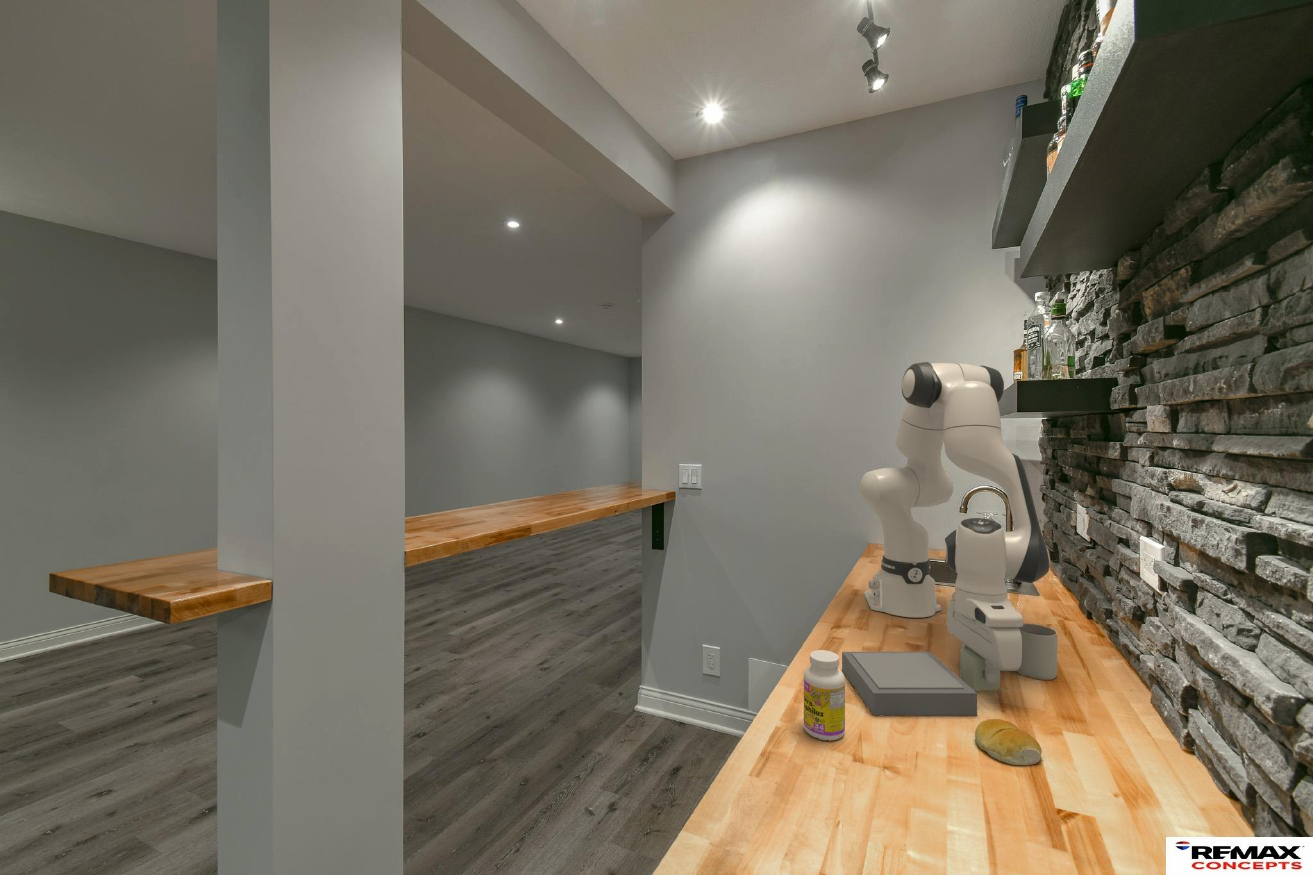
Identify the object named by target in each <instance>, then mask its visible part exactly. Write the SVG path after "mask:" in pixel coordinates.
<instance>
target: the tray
mask: <svg viewBox="0 0 1313 875" xmlns="http://www.w3.org/2000/svg"><path fill="white" fill-rule="evenodd" d="M841 672H842V673H843V672H844V673H843V674H844V676H845V678H846V679H847V678H848V679H847V680H848V681H849V683H850V682H851V683H850V684H851V686H852V685H853V686H854V687H853V686H852V687H853V688H855V689H854V690H855V691H856V693H857V692H858V693H857V694H858V696H859V695H860V696H859V697H860V699H861V700H862V701H863V703H864V704H865V705H866V707H867V709H868V710H869V711H870V713H871V714H872V716H875V717H878V716H879V717H881V716H880V715H884V716H883V717H887V716H889V717H893V716H895V717H899V716H900V717H903V716H904V717H909V716H910V717H916V716H917V717H919V716H920V717H922V716H923V717H927V716H928V717H940V716H941V717H942V716H943V717H945V716H946V717H949V716H950V717H951V716H952V717H958V716H959V717H960V716H961V717H973V716H974V717H975V716H976V717H977V716H978V692H976V690H973V689H972V688H971V687H970V686H968V685H967V684H966V683H965V682H964V681H963V680H962V679H960V676H958V675H957V674H956V673H955V672H954V671H952V670H951V668H949V667H948V666H947V665H946V664H944V663H943V662H942V661H941V660H940V659H939V658H938V657H937V656H936V655H934V654H933V653H932V652H931V651H841Z"/></svg>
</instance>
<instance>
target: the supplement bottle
mask: <svg viewBox="0 0 1313 875" xmlns="http://www.w3.org/2000/svg"><path fill="white" fill-rule="evenodd" d="M809 663H810V665H808V667H806V668H805V670H804V672H803V728H804V730H805V732H806V733H807V734H809V735H810V736H811V737H813V738H815V739H817V738H818V740H821V741H827V740H828V741H827V742H829V741H837V740H839V739H841V738H842V737H843V736H844V734H845V732H846V676H845V674H844V673H843V671H842V670H841V669H839V668H838V667H839V666H840V656H839V655H838V654H837V653H836V652H833V651H830V650H825V649H818V650H813V651H811V652H810V654H809Z"/></svg>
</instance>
